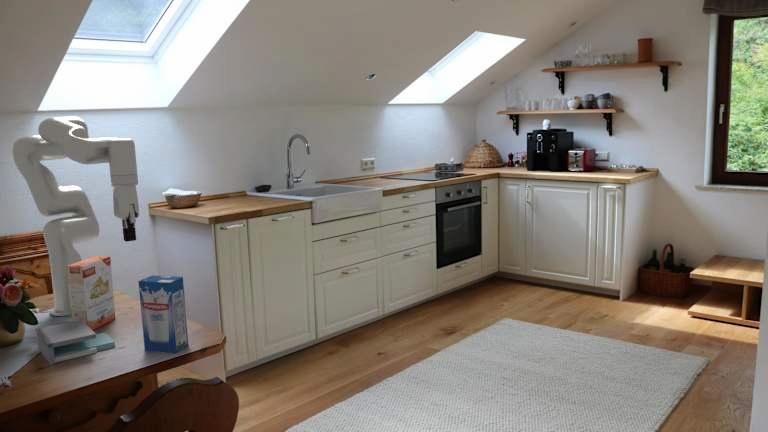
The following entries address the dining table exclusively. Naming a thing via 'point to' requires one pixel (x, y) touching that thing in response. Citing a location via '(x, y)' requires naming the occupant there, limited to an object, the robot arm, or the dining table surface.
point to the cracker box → (91, 291)
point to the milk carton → (163, 314)
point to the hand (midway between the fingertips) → (130, 240)
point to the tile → (85, 345)
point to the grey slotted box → (63, 339)
